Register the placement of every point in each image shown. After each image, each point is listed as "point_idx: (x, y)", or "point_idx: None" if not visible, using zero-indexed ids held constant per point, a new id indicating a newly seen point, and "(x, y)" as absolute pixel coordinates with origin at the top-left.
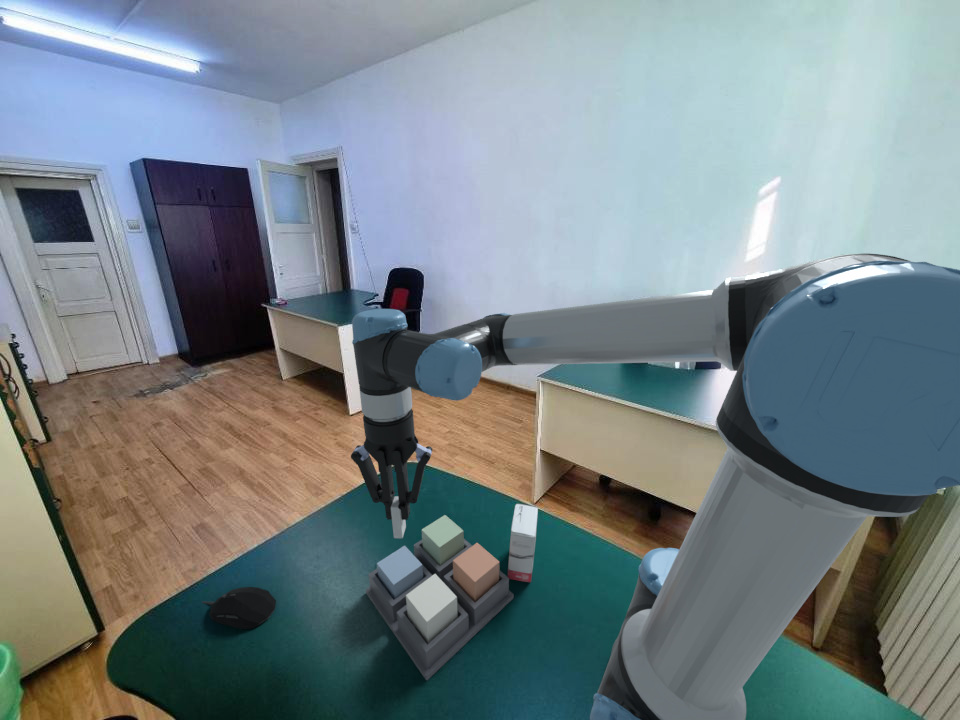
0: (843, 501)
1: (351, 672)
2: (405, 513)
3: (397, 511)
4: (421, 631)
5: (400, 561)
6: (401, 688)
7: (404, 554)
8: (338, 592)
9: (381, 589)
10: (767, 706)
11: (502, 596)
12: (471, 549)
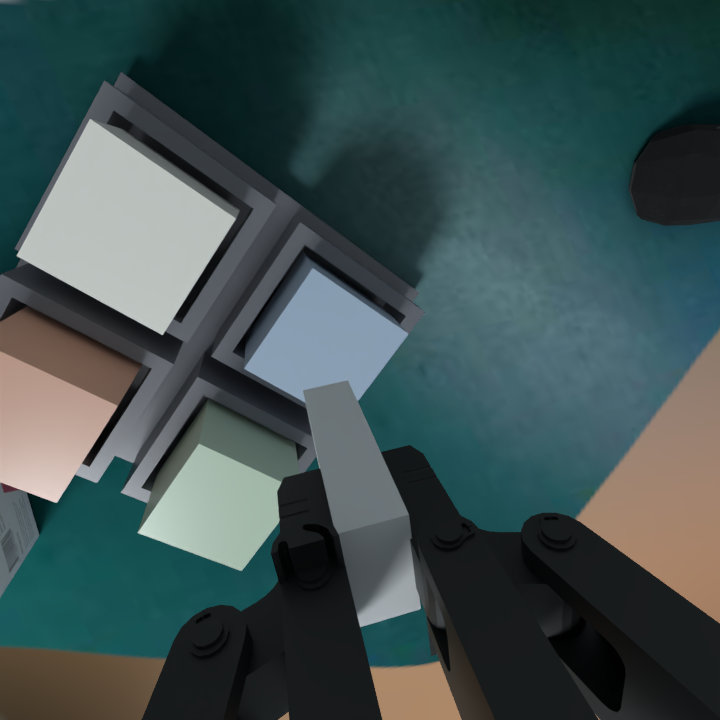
0: None
1: (355, 63)
2: (297, 509)
3: (348, 501)
4: (159, 155)
5: (328, 360)
6: (192, 42)
7: None
8: (488, 274)
9: (361, 271)
10: None
11: None
12: (65, 469)
